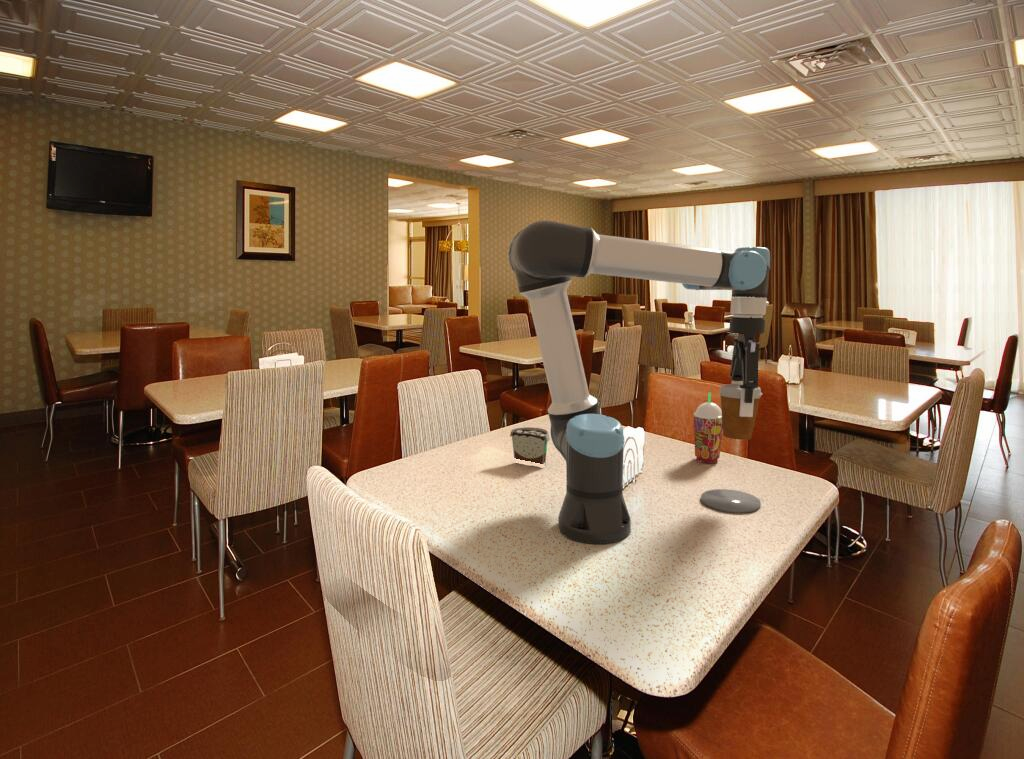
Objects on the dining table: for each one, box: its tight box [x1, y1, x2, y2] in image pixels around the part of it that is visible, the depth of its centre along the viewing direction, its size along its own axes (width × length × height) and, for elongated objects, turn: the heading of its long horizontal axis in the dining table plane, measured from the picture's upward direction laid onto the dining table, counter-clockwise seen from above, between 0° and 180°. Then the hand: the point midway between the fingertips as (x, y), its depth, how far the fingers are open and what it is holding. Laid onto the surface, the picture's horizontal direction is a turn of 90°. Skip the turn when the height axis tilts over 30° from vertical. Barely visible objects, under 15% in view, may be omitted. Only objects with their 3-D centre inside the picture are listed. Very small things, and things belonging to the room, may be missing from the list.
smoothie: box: [693, 392, 723, 464], centre depth 161 cm, size 8×8×20 cm
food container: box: [509, 426, 551, 464], centre depth 162 cm, size 12×6×10 cm, turn 58°
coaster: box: [700, 488, 761, 514], centre depth 131 cm, size 13×13×1 cm
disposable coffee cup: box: [718, 383, 763, 441], centre depth 132 cm, size 10×10×12 cm
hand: (740, 411), depth 132 cm, fingers closed on disposable coffee cup, 9 cm apart
